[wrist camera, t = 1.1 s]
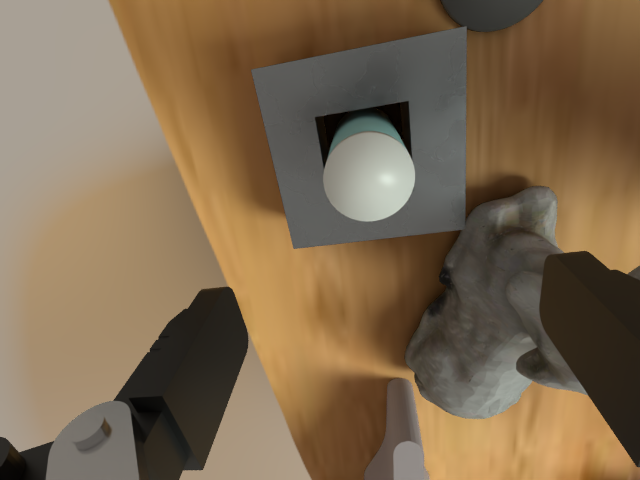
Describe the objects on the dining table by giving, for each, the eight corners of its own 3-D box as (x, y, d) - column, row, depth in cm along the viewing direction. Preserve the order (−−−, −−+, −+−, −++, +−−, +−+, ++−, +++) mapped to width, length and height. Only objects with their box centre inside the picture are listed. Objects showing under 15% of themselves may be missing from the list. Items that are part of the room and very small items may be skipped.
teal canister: (392, 101, 25) (412, 125, 17) (397, 164, 27) (417, 215, 19) (329, 112, 26) (315, 141, 17) (339, 172, 28) (331, 226, 19)
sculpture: (571, 180, 27) (779, 302, 14) (506, 377, 37) (591, 560, 23) (424, 177, 28) (485, 288, 15) (398, 370, 37) (422, 542, 24)
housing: (445, 31, 23) (466, 26, 19) (448, 202, 28) (465, 229, 24) (269, 67, 25) (250, 69, 21) (302, 220, 30) (293, 248, 26)
